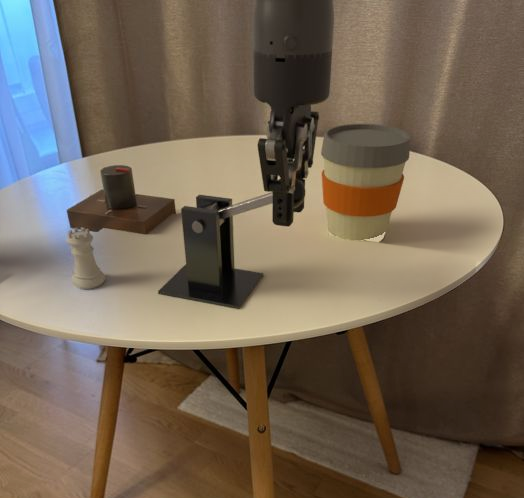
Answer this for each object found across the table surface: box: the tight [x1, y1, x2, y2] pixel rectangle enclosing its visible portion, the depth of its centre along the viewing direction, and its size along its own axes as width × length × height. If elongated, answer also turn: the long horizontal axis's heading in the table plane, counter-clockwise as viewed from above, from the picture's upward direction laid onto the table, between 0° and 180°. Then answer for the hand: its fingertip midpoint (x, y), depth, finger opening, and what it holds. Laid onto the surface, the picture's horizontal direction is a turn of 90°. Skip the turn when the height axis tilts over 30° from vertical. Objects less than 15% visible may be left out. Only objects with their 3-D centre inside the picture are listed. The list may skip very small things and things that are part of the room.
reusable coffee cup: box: [320, 123, 411, 241], centre depth 82 cm, size 13×13×15 cm
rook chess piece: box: [65, 227, 106, 290], centre depth 70 cm, size 4×4×8 cm
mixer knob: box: [99, 164, 137, 209], centre depth 87 cm, size 5×5×6 cm
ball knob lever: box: [202, 177, 306, 225], centre depth 63 cm, size 14×4×4 cm, turn 71°
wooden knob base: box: [66, 188, 177, 235], centre depth 89 cm, size 14×10×3 cm
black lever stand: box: [157, 194, 265, 310], centre depth 68 cm, size 11×9×12 cm
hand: (288, 216), depth 62 cm, fingers closed on ball knob lever, 3 cm apart
